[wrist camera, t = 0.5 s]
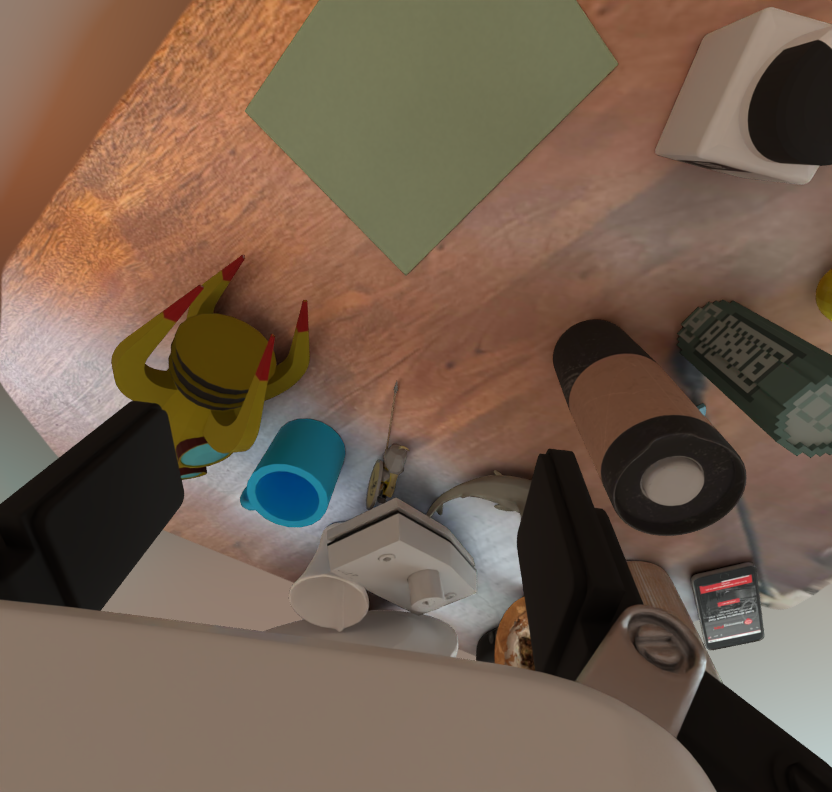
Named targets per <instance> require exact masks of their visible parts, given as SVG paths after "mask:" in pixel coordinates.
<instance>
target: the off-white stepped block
mask: <svg viewBox="0 0 832 792" xmlns="http://www.w3.org/2000/svg"><path fill="white" fill-rule="evenodd" d="M327 540H329V541H331V542H330V543H327V549H328V558H329V567H330V572H332V573H334V574H336V575H338V576H340V577H342V578H344V579H346V580H348V581H352V582H356V583H358V584H360V585H362V586H363V587H364V588H365V589H366V590H368V591H370V592H372V593H374V594H376V595H378V596H380V597H382V598H384V599H386V600H388V601H390V602H392V603H394V604H396V605H398V606H400V607H402V608H404V609H406V610H407V611H409V612H411V613H413V614H415V615H417V616H419V615H422V614H425V613H427V612H430V611H433V610H436V609H439V608H440V607H442V606H445V605H448V604H450V603H453V602H455V601H458V600H460V599H463V598H466V597H468V596H471V595H473V594H476V593H477V571H476V569H475V568H474V566H475V563H474V560H473V558H472V556H471V555H470V554H469V553H468V552H467V551H466V549H465V548H464V547H463V546H462V545H461V544H460V542H459V541H458V540H457V539H456V538H455V536H454V535H453V534H452V533H451V532H450V531H449V529H448V528H446V527H445V526H443V525H441V524H440V523H438V522H436V521H435V520H433V519H431V518H430V519H429V517H428V516H426V515H425V514H423V513H421V512H420V511H418V510H416V509H415V508H413V507H411V506H410V505H408V504H406V503H405V502H403V501H401V500H400V499H398V498H394V499H392V500H390V501H388V502H386V503H384V504H382V505H379V506H377V507H375V508H373V509H371V510H369V511H367V512H365V513H363V514H361V515H358V516H356V517H354V518H352V519H350V520H348V521H346V522H344V523H342V524H340V525H338V526H335V527H333V528H331V529H329V530H327Z"/></svg>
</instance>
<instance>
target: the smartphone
mask: <svg viewBox="0 0 832 792" xmlns="http://www.w3.org/2000/svg"><path fill="white" fill-rule="evenodd" d="M691 582H692V587H693V591H694V596H695V601H696V606H697V610H698V615H699V620H700V624H701V629H702V634H703V638H704V643H705V646H706V648H707V649H708V650H716V649H721V648H726V647H731V646H736V645H741V644H746V643H750V642H756V641H760V640H762V639H763V638H764V629H763V621H762V612H761V604H760V595H759V587H758V578H757V570H756V567H755V565H754V564H753V563H749V562H746V563H742V564H737V565H733V566H729V567H725V568H721V569H716V570H712V571H708V572H704V573H699V574H696V575H694V576H693V577H692V578H691Z"/></svg>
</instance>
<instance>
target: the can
mask: <svg viewBox="0 0 832 792" xmlns="http://www.w3.org/2000/svg"><path fill="white" fill-rule="evenodd" d="M681 325H682V326H683V328H682V329H681V330H680V331H679V332H678V333H677V334H678V335H679V336H680V337H679V338H678V339H677V340H678V341H679V343H678V344H677V346H679V347H680V348H681V349H682V351H680V353H681V354H682V355H683V356H684V357H685V358H686V359H687V360H688V361H689V362H690V363H691V364H693V365H694V366H695V367H696V368H697V369H698V370H699V371H700V372H701V373H702V374H703V375H704V376H706V377H707V378H708V379H709V380H710V381H711V382H712V383H713V384H714V385H715V386H716V387H717V388H719V389H720V390H721V391H722V392H723V393H724V394H725V395H726V396H727V397H728V398H729V399H730V400H732V401H733V402H734V403H735V404H736V405H737V406H738V407H739V408H740V409H741V410H742V411H743V412H745V413H746V414H747V415H748V416H749V417H750V418H751V419H752V420H753V421H754V422H755V423H756V424H758V425H759V426H760V427H761V428H762V429H763V430H764V431H765V432H766V433H767V434H768V435H769V436H771V437H772V438H773V439H774V440H775V441H776V442H777V443H779V444H780V445H782V446H783V447H784V448H786V449H787V450H789V451H790V452H792V453H793V454H795V455H796V456H798V455H799V454H801V453H802V452H803V453H804V454H806V455H807V456H809V457H810V458H811V457H812V456H814V455H815V454H817V455H818V456H822V455H823V454H825V453H827V454H828V455H831V454H832V355H830V354H828V353H826V352H825V351H823V350H821V349H819V348H817V347H816V346H814V345H812V344H810V343H809V342H807V341H805V340H803V339H801V338H800V337H798V336H796V335H794V334H792V333H791V332H789V331H787V330H785V329H783V328H782V327H780V326H778V325H776V324H774V323H773V322H771V321H769V320H767V319H765V318H764V317H762V316H760V315H758V314H757V313H755V312H753V311H751V310H749V309H748V308H746V307H744V306H742V305H740V304H739V303H737V302H735V301H732V302H731V303H729V302H727V301H725V300H723V299H722V300H721V301H720V302H718V301H715V302H714V303H713V304H712V303H710V302H708V303H707V304H706V305H705V306H704V307H703V308H702V309H701V308H700V307H697V308H696V309H695V310H694V312H693V313H692V314H691V315H690V316H689V317H688V318H687V319H686V320H685V321H684V322H683V323H682V324H681Z"/></svg>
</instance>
